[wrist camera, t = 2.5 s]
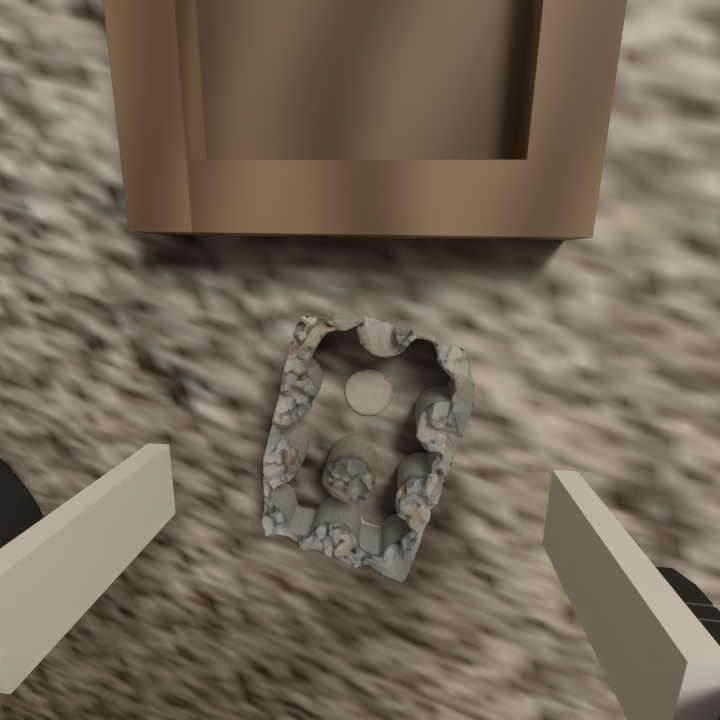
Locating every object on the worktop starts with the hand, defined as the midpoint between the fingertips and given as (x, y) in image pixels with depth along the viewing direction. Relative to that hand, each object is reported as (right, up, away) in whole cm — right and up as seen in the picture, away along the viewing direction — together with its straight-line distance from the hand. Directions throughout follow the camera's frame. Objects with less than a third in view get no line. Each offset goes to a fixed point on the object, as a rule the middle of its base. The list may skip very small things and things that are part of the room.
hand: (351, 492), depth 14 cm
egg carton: (+1, +1, +6) cm, 6 cm away
